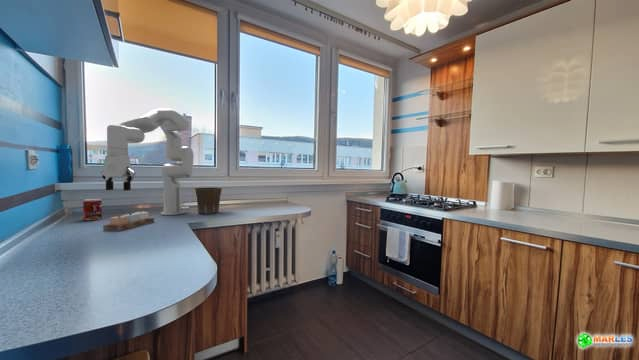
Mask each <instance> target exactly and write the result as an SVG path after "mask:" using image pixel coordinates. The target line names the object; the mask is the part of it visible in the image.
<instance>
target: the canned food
mask: <svg viewBox="0 0 639 360" xmlns="http://www.w3.org/2000/svg"><path fill="white" fill-rule="evenodd" d="M82 201H83V202H82V207H83V220H84V219H98V218H101V219H102V218H103V202H102V198H87V199H85V198H84V199H83V200H82Z"/></svg>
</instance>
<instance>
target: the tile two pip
mask: <svg viewBox="0 0 639 360" xmlns="http://www.w3.org/2000/svg"><path fill="white" fill-rule="evenodd" d="M121 216H128V222H135V221H139V214H133V213H127V214H122V215H121Z"/></svg>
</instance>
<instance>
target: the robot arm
mask: <svg viewBox="0 0 639 360" xmlns="http://www.w3.org/2000/svg"><path fill="white" fill-rule="evenodd" d="M159 127H160V129H161V131H162V132H163V133H164V135H165V139H166V143H165V159H166V160H167V161H169V162H171V163H169V162H168V163H165V164H163V165H162V166H161V169H160V170H161V177H162V184H163V186H162V187H163V197H162V198H163V211H161V212H160V215H163V216H174V215H176V216H177V215H181V214H184V213H185V211H189V210H190V206H183V205H182V186H181V183H180V181H179V180H180V179H181V180H182V179H183V180H184V179H190V178H191V177H192V176H193V171H194V158H195V157H194V155H195V154H194V151H193V149H192V148H191V147H190V146H186V145H185V146H184V145H183V139H182V137H181V135H180V133H178V132H185V131H188V130H189V127H190V122H189V120H188V118H186V117H185V116H184V115H182V114H181V113H180V112H179V111H176V110H174V109H173V108H172V109H171V108H156V109H152V110H151V111H148V112H147V113H146V114H144V115H142V116H141V117H138V118H133V119H131V120H127V121H123V122H121V123H119V124H108V125H107V127H106V147H107V148H106V153H107V154H106V155H105V157H104V162H103V170H101V172H100V175H101V177H102V178H103V181H104V182H105V190H106V191H113V190H114V181H113V179H115V178H123V185H122V186H123V191H125V192H126V191H131V188H132V186H131V183H132V181H133V179H134V178H135V176H136V174H137V172H135V171H134V170H133V169H132V164H131V159H130V155H129V144H140V143H142V142H144V140H145V138H146V136H145V134H147V133H151V132H153V131H155V130H158V128H159ZM182 145H183V146H182ZM173 162H174V163H173ZM177 162H181V163H177Z"/></svg>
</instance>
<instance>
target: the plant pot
mask: <svg viewBox="0 0 639 360" xmlns="http://www.w3.org/2000/svg"><path fill="white" fill-rule="evenodd" d="M222 190H223V188H221V187H195V188H194V191H195V195H196V203H197V204H196V205H197V213H198V214H199V215H213V214H218V213H219V210H220V201H221V200H220V199H221V195H222Z"/></svg>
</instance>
